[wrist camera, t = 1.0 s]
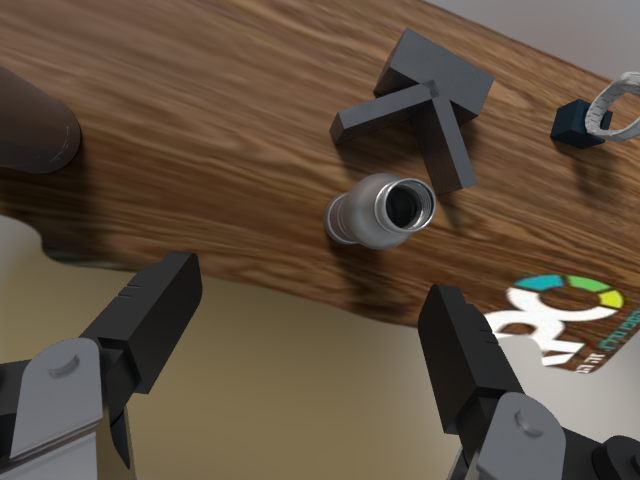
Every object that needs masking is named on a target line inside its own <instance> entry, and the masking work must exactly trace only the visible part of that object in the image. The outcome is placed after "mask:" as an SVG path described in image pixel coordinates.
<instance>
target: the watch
mask: <svg viewBox="0 0 640 480" xmlns="http://www.w3.org/2000/svg"><path fill="white" fill-rule="evenodd" d="M626 92H628V93H633V94H637V95H640V72H625V73H624V74H623V75H622V77H620V78H617V79H616V80H614V81H612V82H611V84H610V85H609V86H608V87H607V88H606V89H604V90H603V91H602V92H601V93H600V95H601V96H600V95H598V96H597V98H596V99H595V100H594V102H593V103H592V104H591V103H588V102H586V101H583V100H581V99H578V100H575V101H573V102H571V103H569V104H567V105H564V106H562V107H560V108H558V110H557V113H556V117H555V121H554V124H553V128H552V131H551V135H550V137H551V138H554V139H557V140H559V141H562V142H565V143H567V144H570V145H572V146H575V147H578V148H580V149H584V148H587V147H591V146H594V145H598V144H602V143H605V140H608V141H615V142H624V141H625V140H629V139H632V138H635V137H637V136H639V135H640V117H639V118H638V119H637V120H636V121H635V122H634V123H633V124H631V125H629V126H628V127H626V128H625V129H622V130H616V131H612V130H608V129H609V125H610V122H611V118H612V114H613V112H611V111H608V110H607V109H608V107H610V106H611V104H612V103H613V102H614V101H615V100H617V99H618V98H619V97H620V96H621V95H623V94H624V93H626ZM611 93H612V94H611ZM602 99H603V100H602ZM604 100H605V101H604ZM612 100H613V101H612ZM606 101H607V102H606ZM606 107H607V108H606Z"/></svg>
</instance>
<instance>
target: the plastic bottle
mask: <svg viewBox="0 0 640 480" xmlns="http://www.w3.org/2000/svg"><path fill="white" fill-rule="evenodd" d="M435 210H436V198H435V195H434V193H433V191H432V189H431V188H430V187H429V186H428V185H427V184H426V183H425V182H423V181H421V180H419V179H415V178H406V179H403V178H401V177H399V176H396V175H391V174H386V173H379V174H373V175H370V176H367V177H365V178H363V179H362V180H360V181H359V182H358V183H357V184H356V185H355V186H353V188H352V189H351V190H350V191H349V192H346V193H342V194H339V195H337V196H336V197H334V198H333V199H332V200H331V201H330V202H329V203H328V205H327V206H326V209H325V211H324V215H323V223H324V227H325V230H326V232H327V233H328V235H329V236H330V237H331V238H332V239H333V240H335V241H336V242H338V243H341V244H345V245H353V244H357V243H359V244H361V245H363V246H365V247H368V248H370V249H375V250H385V249H390V248H393V247H396V246H398V245H400V244H401V243H403V242H404V241H406V240H407V239H408V238H409V237H410V236H411V235H412V234H413V233H414V232H416V231H418V230H421V229H422V228H424V227H425V226H427V225H428V224H429V223H430V221H431V220H432V218H433V216H434V214H435Z"/></svg>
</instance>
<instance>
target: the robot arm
mask: <svg viewBox="0 0 640 480" xmlns="http://www.w3.org/2000/svg"><path fill="white" fill-rule="evenodd" d="M80 136H81V135H80V128H79V125H78V122H77V119H76V118H75V116H74V114H73V113H72V111H71V110H70V109H69V108H68V107H67V106H66V105H65V104H63V103H62V102H60V101H59V100H57V99H56V98H54V97H52V96H51V95H49V94H47V93H46V92H44V91H42V90H41V89H39V88H37V87H36V86H34V85H33V84H31V83H29V82H28V81H26V80H24V79H23V78H21V77H19V76H18V75H16V74H15V73H13V72H11V71H10V70H8V69H6V68H5V67H3V66H1V65H0V166H2V167H6V168H10V169H15V170H19V171H23V172H27V173H32V174H44V173H50V172H53V171H56V170H59V169H60V168H62V167H64V166H65V165H67V164H68V163H69V162H70V161H71V160H72V159H73V157H74V156H75V154H76V152H77V150H78V147H79V144H80ZM201 297H202V282H201V274H200V268H199V261H198V257H197V255H196V254H195V253H189V252H181V251H170V252H169V253H168V254H167V255H166V257H165V258H164V259H163V260H162V261H161V262H160V264H151V265H150V266H148V267H146V268H145V269H143V270H141V271H140V272H138V273H137V274H136V275H135V276H134V277H133V278H132V280H131V281H130V282H129V283H128V284H127V287H124V288H123V289H122V290H121V292H120V293H119V294H118V297H115V298H114V299H113V300H112V301H111V302H110V304H109V305H108V306H107V307H106V308H105V309H104V310H103V311H102V312H101V313H100V314H99V316H98V317H97V318H96V319H95V320H94V321H93V322H92V323H91V324H90V325H89V327H88V328H87V329H86V330H85V331H84V332H83V333H82V334H81V335H80V336H79V337H78V338H72V339H67V340H63V341H61V342H58V343H56V344H54V345H51V346H50V347H48V348H46V349H44V350H43V351H42V352H40V353H39V354H38V355H37V356H35V357H34V358H33V359H31V360H24V361H18V362H11V363H4V364H0V480H137V478H136V473H135V466H134V459H133V450H132V442H131V434H130V427H129V419H128V411H127V406H126V403H127V402H128V400H129V399H130V397H131V395H132V394H133V393H141V394H149V392H150V390H151V388H152V387H153V385H154V383H155V381H156V380H157V378H158V376H159V374H160V372H161V371H162V369H163V367H164V365H165V364H166V362H167V360H168V358H169V357H170V355H171V353H172V351H173V350H174V348H175V346H176V344H177V342H178V341H179V339H180V337H181V335H182V334H183V332H184V330H185V328H186V327H187V325H188V323H189V321H190V319H191V318H192V316H193V314H194V312H195V311H196V309H197V307H198V305H199V303H200V300H201ZM418 333H419V337H420V341H421V345H422V349H423V353H424V356H425V361H426V365H427V368H428V372H429V376H430V380H431V384H432V388H433V392H434V396H435V400H436V403H437V407H438V411H439V415H440V419H441V423H442V427H443V431H444V433H446V434H454V435H459V437H460V441H461V444H462V446H461V447H460V449H459V451H458V453H457V455H456V458H455V461H454V463H453V465H452V467H451V470H450V472H449V474H448V477H447V479H446V480H640V442H639V441H637V440H635V439H632V438H630V437H626V436H620V435H617V436H613V437H611V438H609V439H608V440H607V441H605V442H604V443H602V444H601V443H599V442H597V441H594V440H592V439H590V438H587V437H585V436H582V435H580V434H578V433H575V432H573V431H570V430H568V429H566V428H564V427H562V426H560V424H559V422H558V421H557V419H556V418H555V417H554V415H553V414H552V413H551V412H550V411H549V410H548V409H547V408H546V407H545V406H543V405H542V404H541V403H539V402H538V401H537V400H535V399H533V398H531V397H529V396H527V395H526V394H525V393H524V391H523V389H522V387H521V385H520V383H519V381H518V379H517V377H516V375H515V373H514V372H513V370H512V368H511V366H510V364H509V362H508V360H507V358H506V356H505V354H504V352H503V350H502V349H501V347H500V346H499V345H498V341H497V339H496V337H495V335H494V334H492V329H491V327H490V325H489V323H488V322H487V320H486V318H485V316H484V315H483V314H482V313H481V312H480V311H479V310H478V309H477V308H476V307H475V306H474V305H473V304H466V301H465V299H464V297H463V295H462V293H461V291H460V289H459V288H458V287H455V286H447V285H439V284H433V285H432V286H431V288H430V290H429V293H428V295H427V298H426V300H425V303H424V305H423V307H422V310H421V312H420V315H419V319H418Z"/></svg>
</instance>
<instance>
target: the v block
mask: <svg viewBox="0 0 640 480" xmlns="http://www.w3.org/2000/svg"><path fill="white" fill-rule="evenodd" d="M494 78H495V77H493V76H491V75H490V74H488V73H486V72H484V71H483V70H481V69H479V68H477V67H476V66H474V65H472V64H470V63H469V62H467V61H465V60H463V59H462V58H460V57H458V56H457V55H455V54H453V53H451V52H450V51H448V50H446V49H444V48H443V47H441V46H439V45H437V44H436V43H434V42H432V41H430V40H429V39H427V38H425V37H423V36H422V35H420V34H418V33H416V32H415V31H413V30H411V29H409V28H408V27H407V28H406V29H405V31H404V33H403V34H402V36H401V38H400V39H399V41H398V43H397V44H396V46H395V47H394V49H393V51H392V52H391V54H390V56H389V57H388V59H387V62H386V64H385V66H384V68H383V71H382V73H381V75H380V77H379V80H378V82H377V84H376V86H375V89H374V91H373V92H374V93H376V94H378V95H380V96H382V97H380V98H377V99H374V100H371V101H368V102H365V103H362V104H359V105H356V106H353V107H350V108H347V109H344V110H341V111H338V113H337V115H336V117H335V119H334V121H333V123H332V126H331V128H330V130H329V131H330V134H331V137H332V139H333V142H334V145H336V144H339V143H342V142H345V141H348V140H350V139H353V138H356V137H359V136H362V135H365V134H367V133H370V132H373V131H376V130H379V129H382V128H385V127H387V126H390V125H393V124H396V123H399V122H402V121H405V120H407V119H410V121H411V124H412V127H413V130H414V133H415V136H416V139H417V142H418V144H419V147H420V150H421V153H422V156H423V159H424V162H425V164H426V167H427V170H428V173H429V176H430V179H431V182H432V185H433V187H434V190H435V193H436V195H440V194H444V193H448V192H452V191H456V190H460V189H464V188H466V187H469V186H471V185H474V184H477V180H476V177H475V174H474V171H473V168H472V165H471V163H470V160H469V157H468V154H467V151H466V148H465V145H464V142H463V139H462V136H461V133H460V130H459V127H460V126H462V125H464V124H465V123H467V122H469V121H470V120H472V119H474V118H475V117H477V116H479V113H480V111H481V109H482V106H483V104H484V102H485V99H486V97H487V95H488V92H489V90H490V88H491V85H492V83H493V81H494Z"/></svg>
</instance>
